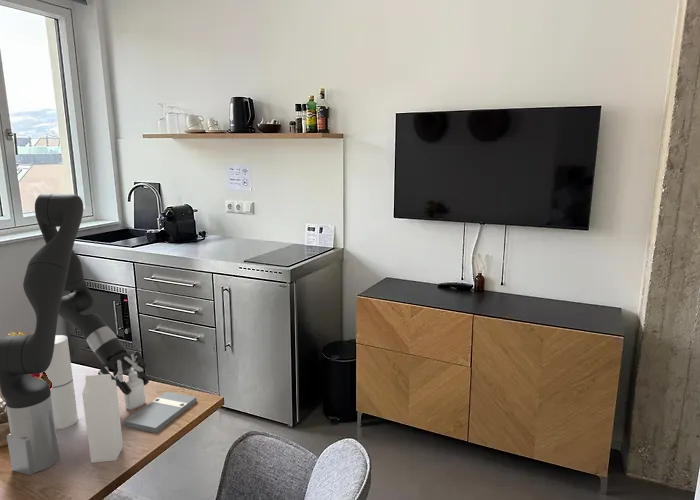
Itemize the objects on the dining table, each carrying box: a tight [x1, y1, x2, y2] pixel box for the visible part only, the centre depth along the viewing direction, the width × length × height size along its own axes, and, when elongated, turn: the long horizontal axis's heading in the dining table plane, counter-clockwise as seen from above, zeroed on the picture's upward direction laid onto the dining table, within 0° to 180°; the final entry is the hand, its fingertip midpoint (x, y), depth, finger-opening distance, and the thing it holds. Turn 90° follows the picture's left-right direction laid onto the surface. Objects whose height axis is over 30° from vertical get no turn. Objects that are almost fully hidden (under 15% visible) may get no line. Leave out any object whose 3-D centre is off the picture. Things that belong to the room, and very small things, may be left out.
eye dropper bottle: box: [123, 369, 146, 410], centre depth 148 cm, size 4×6×12 cm
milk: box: [81, 373, 124, 464], centre depth 123 cm, size 6×6×22 cm
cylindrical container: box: [45, 334, 79, 430], centre depth 138 cm, size 7×7×25 cm
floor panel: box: [123, 391, 197, 433], centre depth 145 cm, size 18×11×2 cm, turn 161°
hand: (138, 388), depth 148 cm, fingers open, 6 cm apart
